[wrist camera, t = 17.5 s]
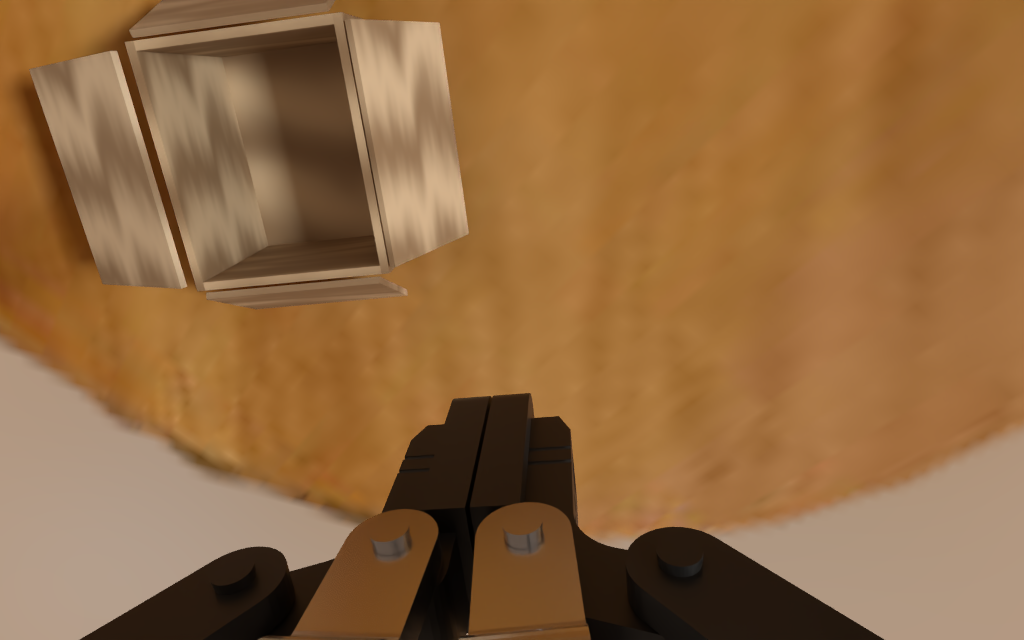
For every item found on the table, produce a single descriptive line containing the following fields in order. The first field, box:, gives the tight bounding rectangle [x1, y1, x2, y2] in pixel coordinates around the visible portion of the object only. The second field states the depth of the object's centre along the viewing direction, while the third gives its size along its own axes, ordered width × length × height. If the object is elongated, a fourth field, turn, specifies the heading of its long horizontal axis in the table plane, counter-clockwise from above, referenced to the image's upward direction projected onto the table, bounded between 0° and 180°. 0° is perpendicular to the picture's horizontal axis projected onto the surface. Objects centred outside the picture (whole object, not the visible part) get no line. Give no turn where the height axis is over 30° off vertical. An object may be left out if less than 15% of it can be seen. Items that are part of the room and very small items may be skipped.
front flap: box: [29, 51, 187, 289], centre depth 38 cm, size 13×1×8 cm
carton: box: [125, 0, 469, 309], centre depth 40 cm, size 20×16×10 cm
